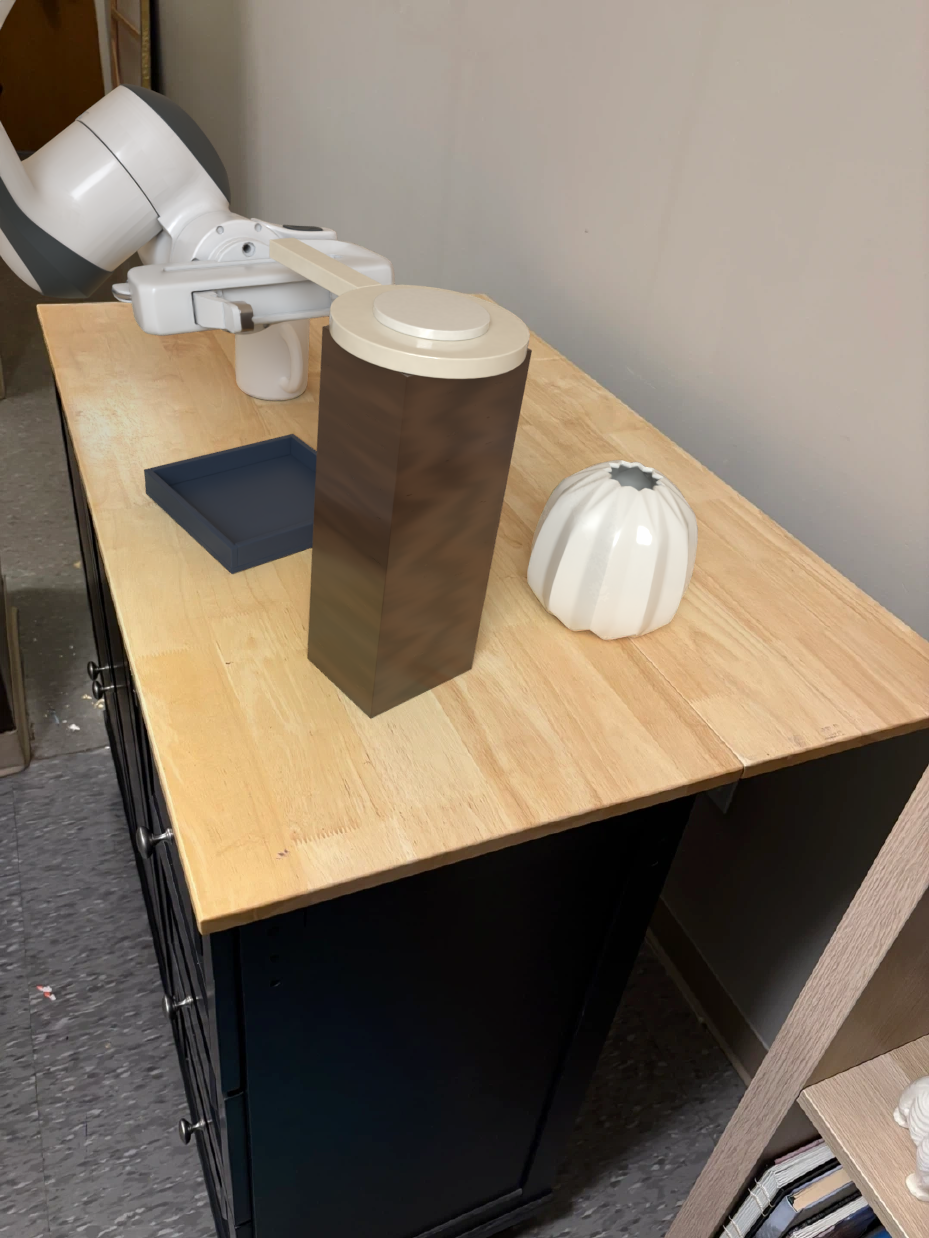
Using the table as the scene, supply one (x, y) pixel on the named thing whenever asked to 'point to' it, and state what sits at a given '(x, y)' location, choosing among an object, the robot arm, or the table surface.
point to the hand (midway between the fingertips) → (307, 313)
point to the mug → (274, 361)
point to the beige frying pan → (411, 321)
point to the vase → (614, 550)
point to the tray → (242, 500)
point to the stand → (404, 522)
